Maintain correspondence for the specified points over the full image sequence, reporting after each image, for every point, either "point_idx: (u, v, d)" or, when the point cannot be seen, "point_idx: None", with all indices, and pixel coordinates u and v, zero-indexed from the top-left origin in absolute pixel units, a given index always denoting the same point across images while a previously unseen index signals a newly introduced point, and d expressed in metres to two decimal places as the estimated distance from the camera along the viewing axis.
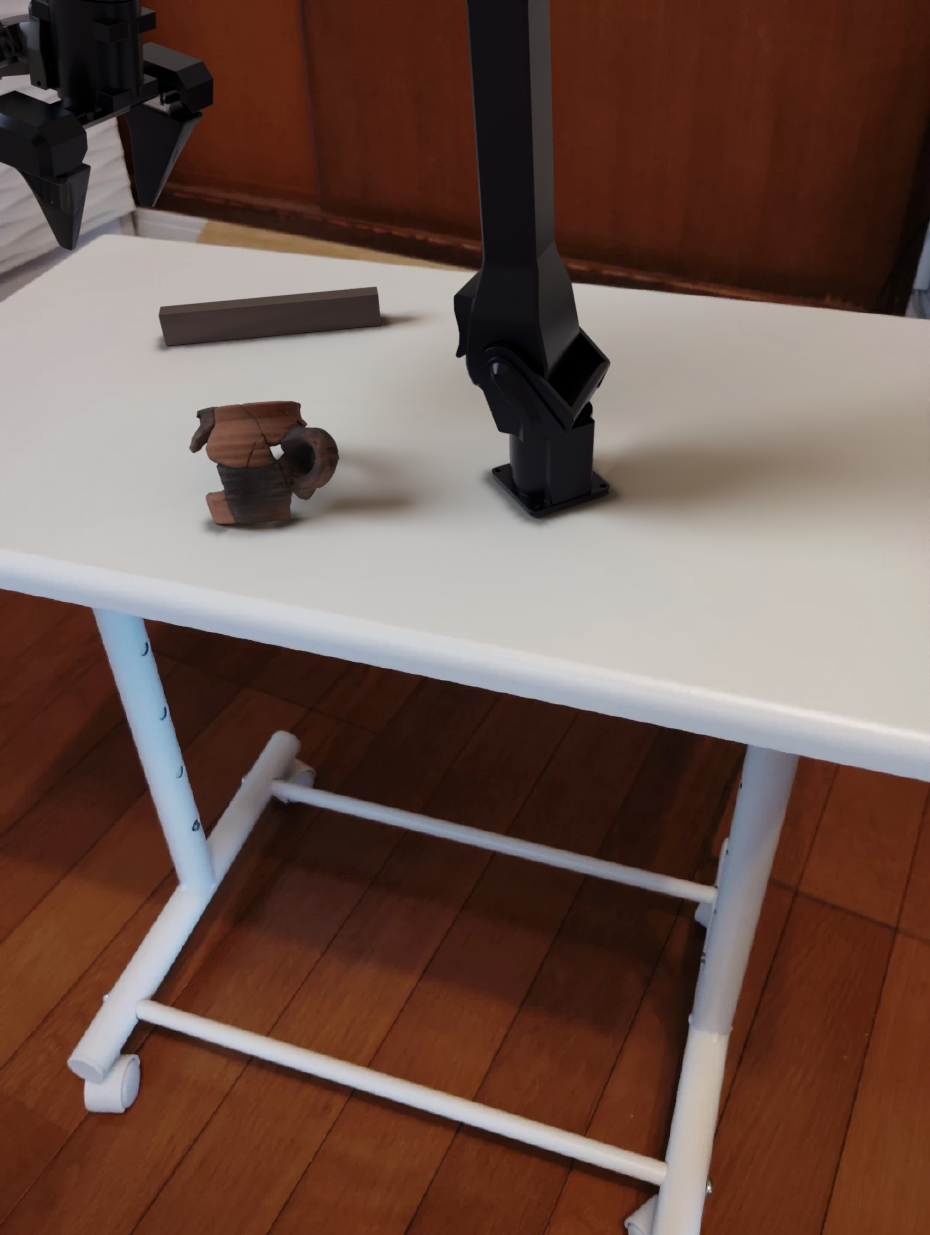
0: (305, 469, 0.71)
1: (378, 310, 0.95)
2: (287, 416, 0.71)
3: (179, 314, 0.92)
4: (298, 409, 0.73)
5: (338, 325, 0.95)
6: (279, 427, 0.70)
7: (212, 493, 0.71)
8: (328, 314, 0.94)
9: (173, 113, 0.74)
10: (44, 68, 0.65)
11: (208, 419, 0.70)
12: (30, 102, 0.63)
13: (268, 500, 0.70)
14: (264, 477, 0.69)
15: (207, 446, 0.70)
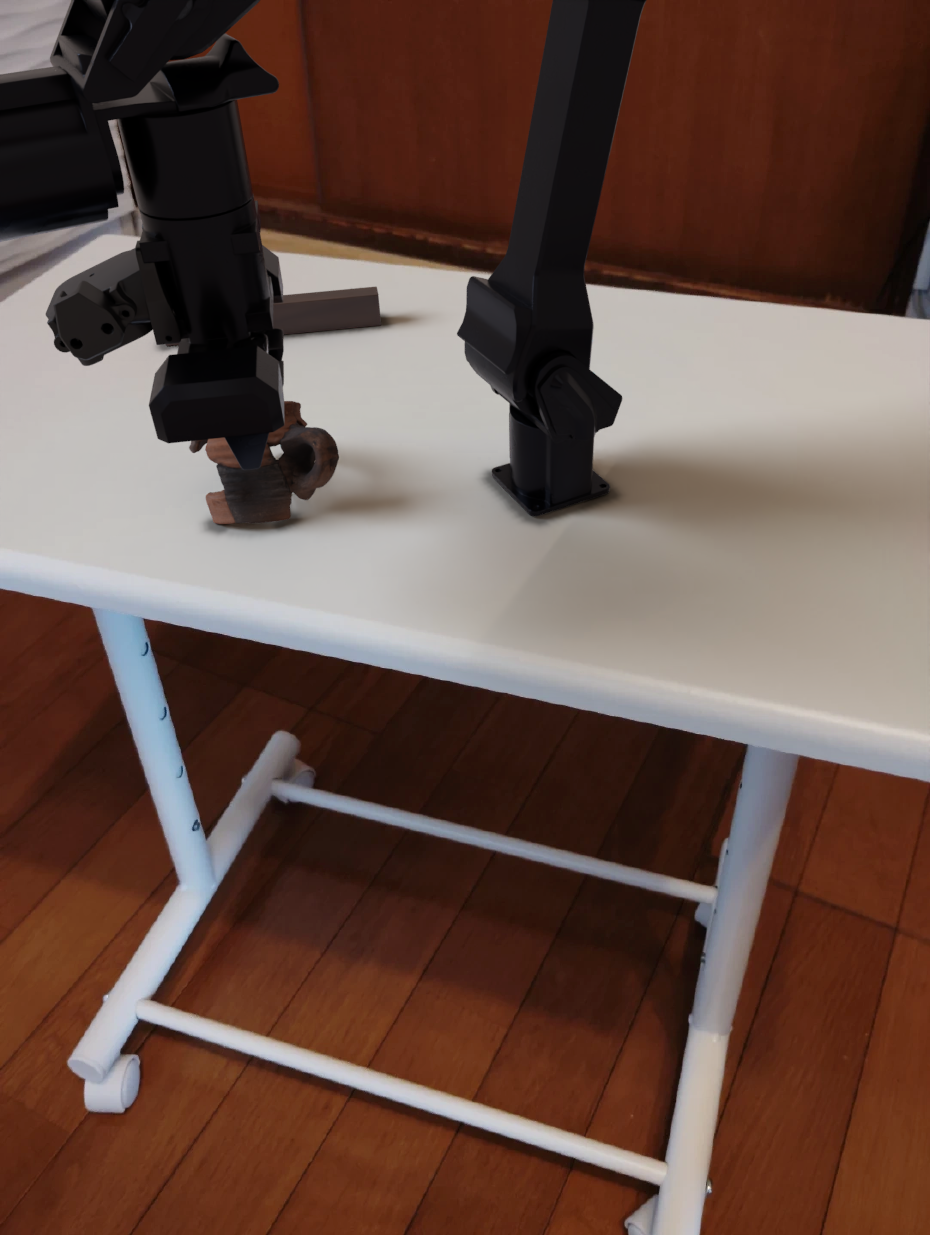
0: (305, 469, 0.71)
1: (378, 310, 0.95)
2: (287, 416, 0.71)
3: None
4: (298, 409, 0.73)
5: (338, 325, 0.95)
6: None
7: (212, 493, 0.71)
8: (328, 314, 0.94)
9: None
10: (174, 317, 0.52)
11: None
12: (204, 357, 0.50)
13: (268, 500, 0.70)
14: (264, 477, 0.69)
15: (207, 446, 0.70)
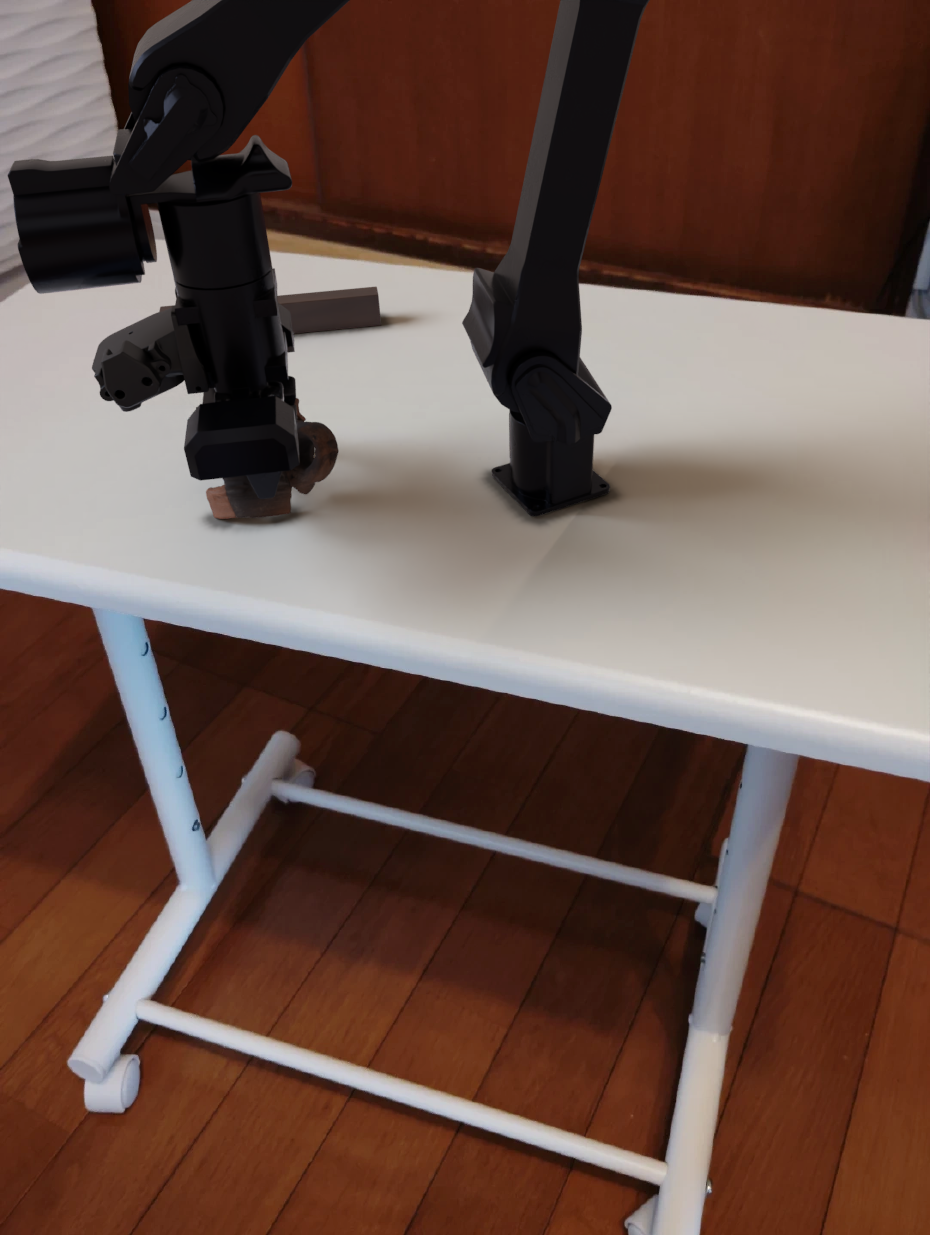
0: (305, 463, 0.71)
1: (378, 310, 0.95)
2: None
3: None
4: (296, 404, 0.73)
5: (338, 325, 0.95)
6: None
7: (212, 488, 0.71)
8: (328, 314, 0.94)
9: None
10: (203, 370, 0.60)
11: None
12: (230, 406, 0.58)
13: None
14: None
15: None
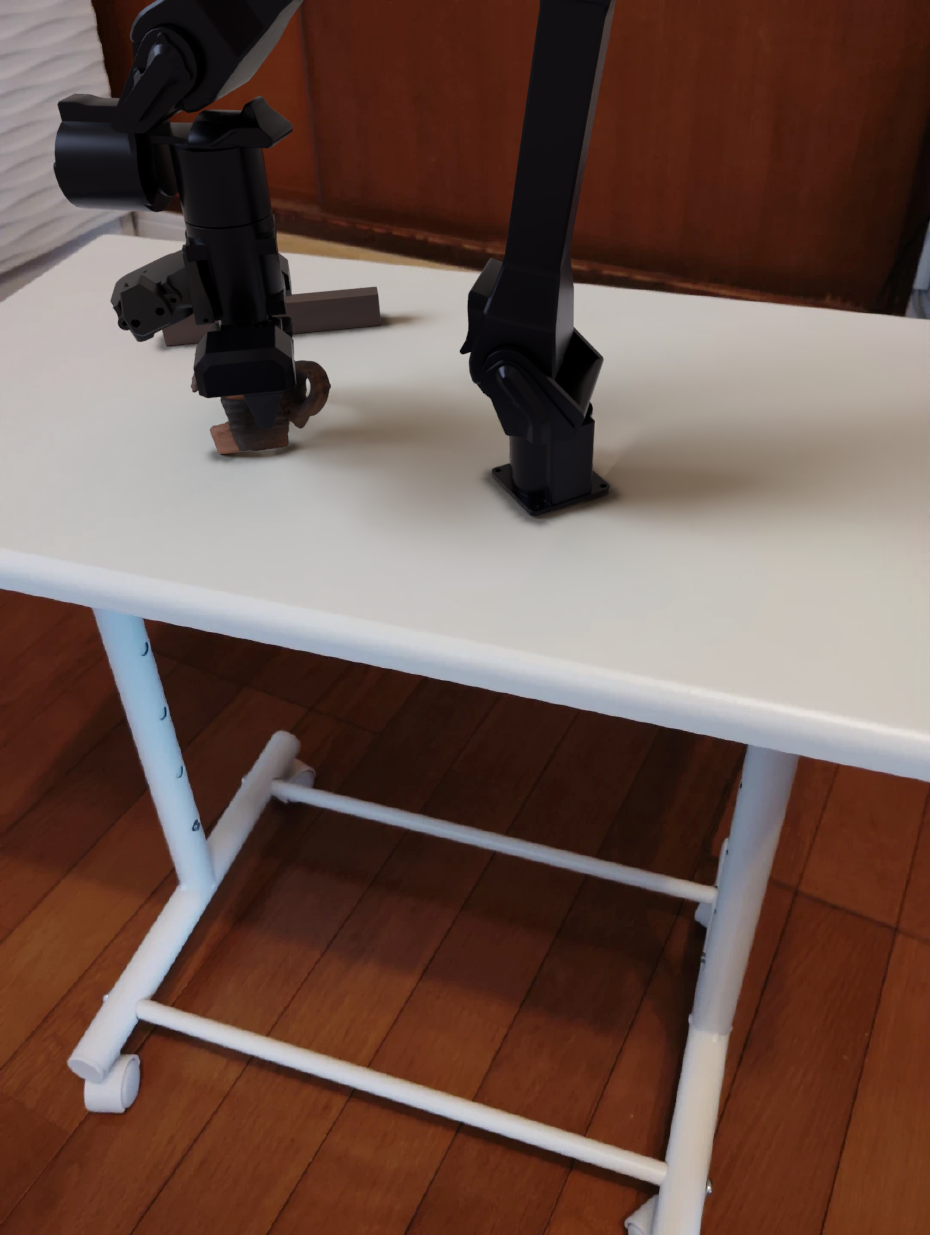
0: (299, 399, 0.79)
1: (378, 310, 0.95)
2: None
3: None
4: None
5: (338, 325, 0.95)
6: None
7: (216, 426, 0.78)
8: (328, 314, 0.94)
9: None
10: (210, 303, 0.67)
11: None
12: (234, 333, 0.65)
13: (269, 428, 0.78)
14: None
15: None
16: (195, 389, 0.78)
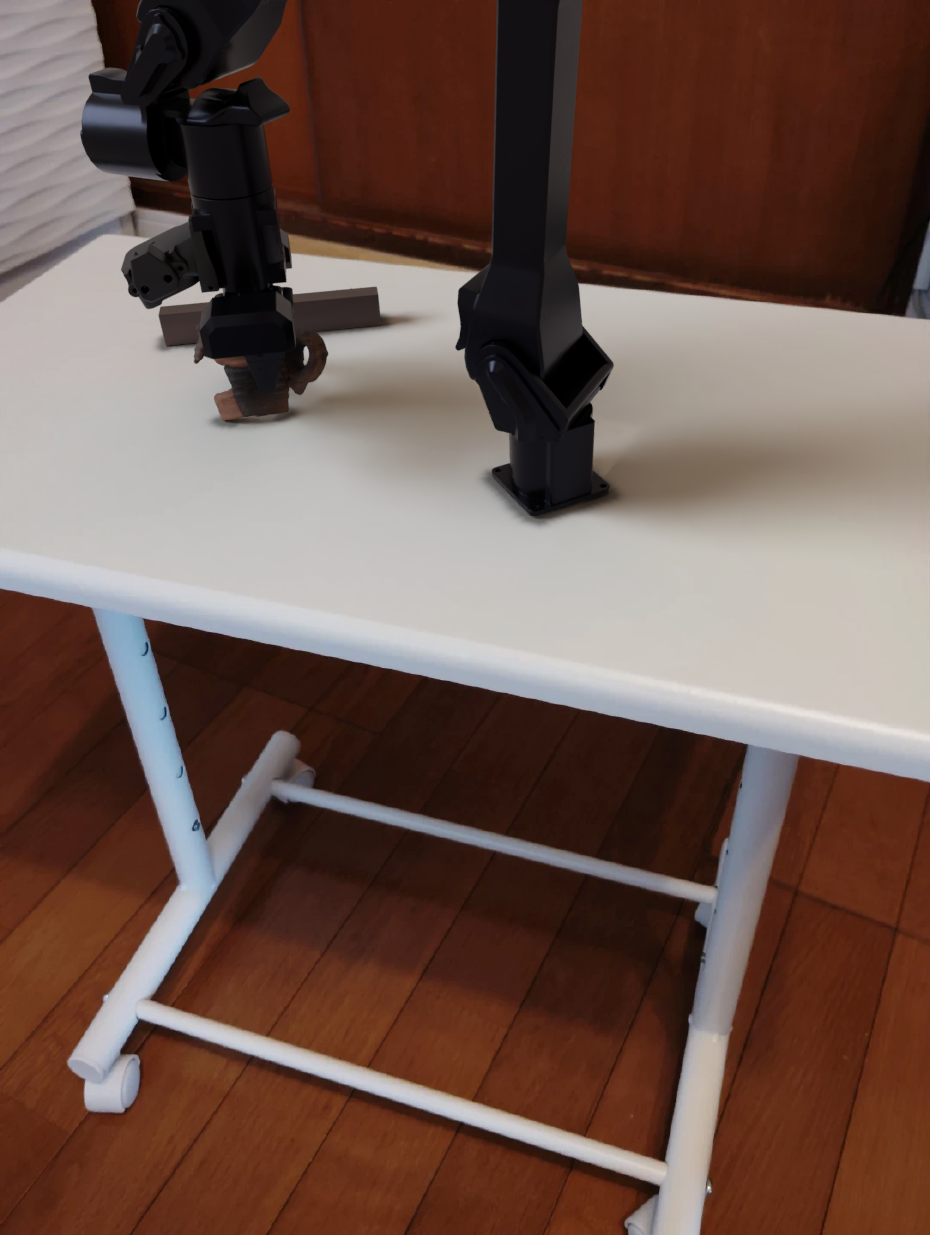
0: (298, 367, 0.83)
1: (378, 310, 0.95)
2: None
3: (179, 314, 0.92)
4: None
5: (338, 325, 0.95)
6: None
7: (220, 393, 0.82)
8: (328, 314, 0.94)
9: None
10: (215, 272, 0.71)
11: None
12: (238, 299, 0.69)
13: (270, 395, 0.82)
14: None
15: None
16: (198, 359, 0.82)
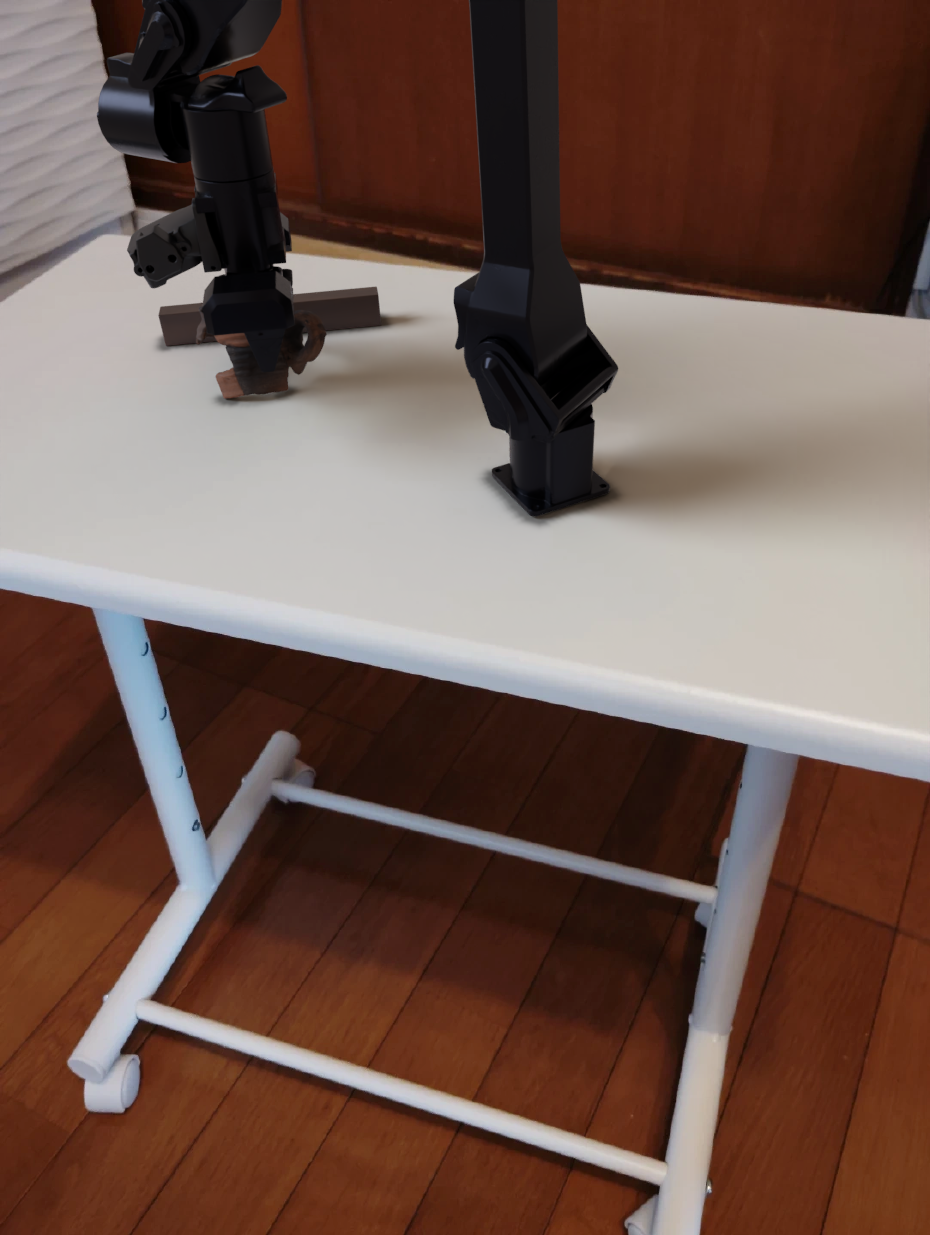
0: (297, 347, 0.86)
1: (378, 310, 0.95)
2: None
3: (179, 314, 0.92)
4: None
5: (338, 325, 0.95)
6: None
7: (221, 372, 0.85)
8: (328, 314, 0.94)
9: None
10: (217, 252, 0.74)
11: None
12: (239, 278, 0.72)
13: (271, 373, 0.85)
14: None
15: None
16: (201, 339, 0.85)
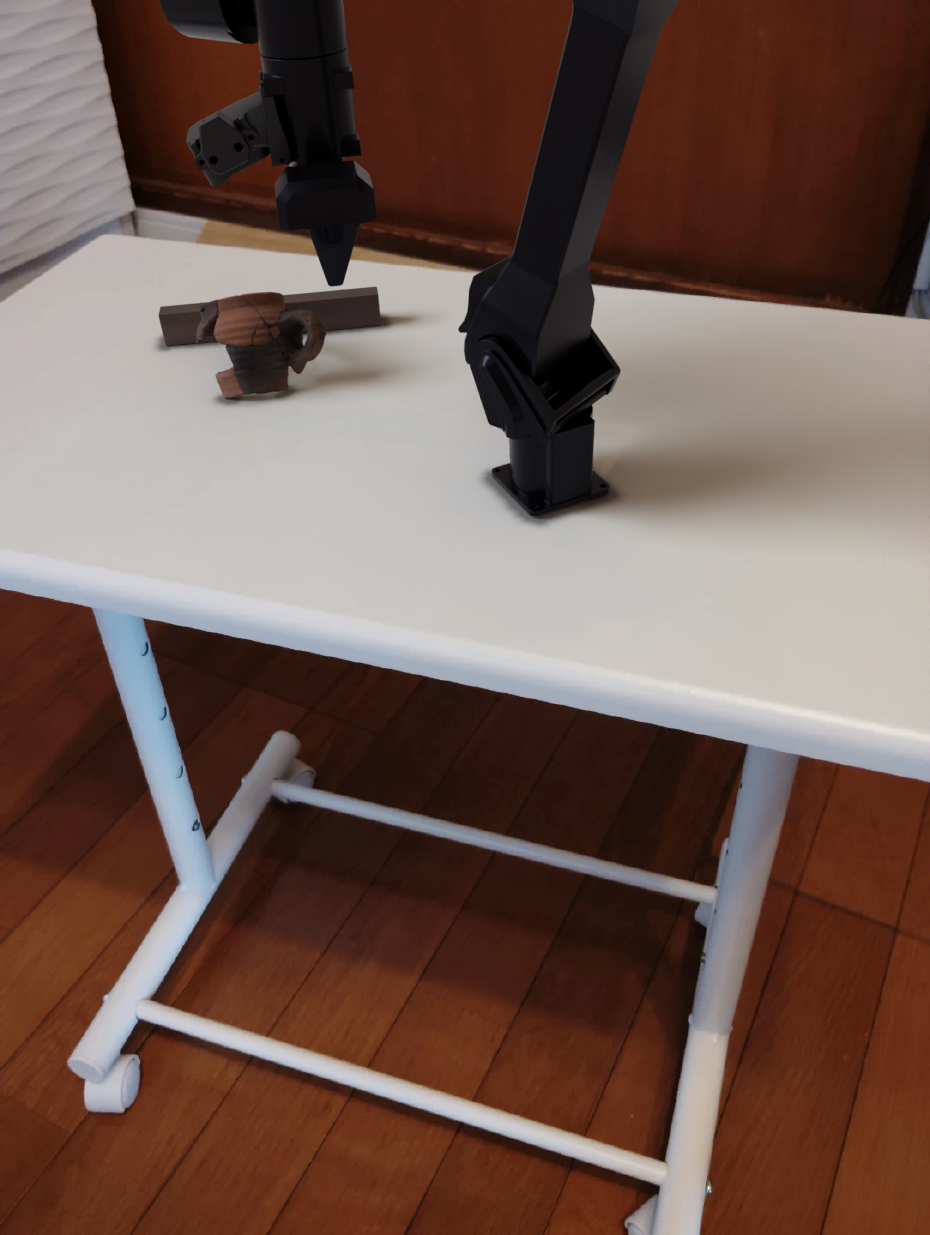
0: (297, 346, 0.86)
1: (378, 310, 0.95)
2: (277, 305, 0.86)
3: (179, 314, 0.92)
4: (283, 300, 0.87)
5: (338, 325, 0.95)
6: (273, 312, 0.85)
7: (221, 372, 0.85)
8: (328, 314, 0.94)
9: None
10: (286, 142, 0.67)
11: (212, 310, 0.84)
12: (314, 167, 0.65)
13: (270, 373, 0.85)
14: (266, 353, 0.84)
15: (215, 331, 0.84)
16: (201, 339, 0.85)
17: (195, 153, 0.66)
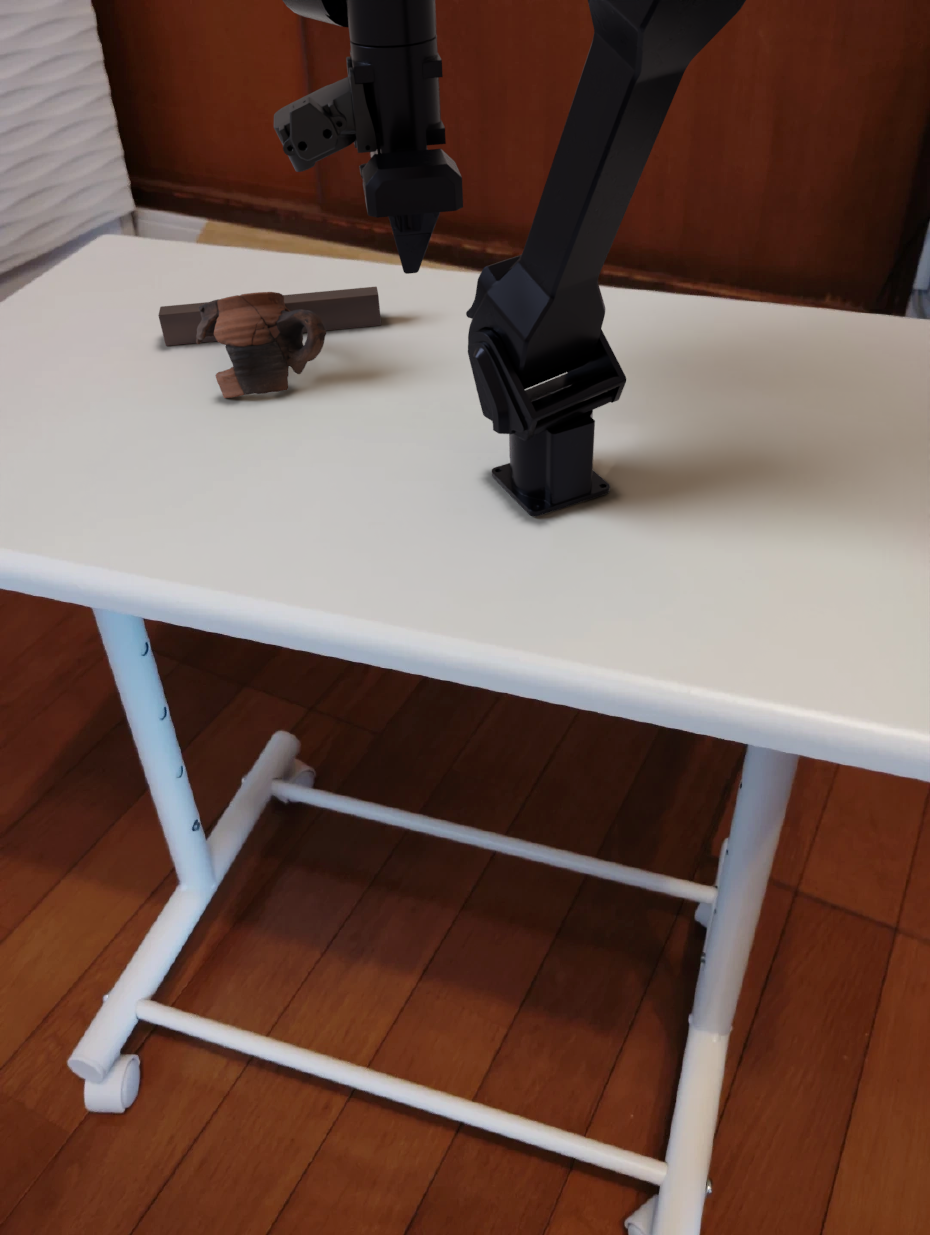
0: (297, 346, 0.86)
1: (378, 310, 0.95)
2: (277, 305, 0.86)
3: (179, 314, 0.92)
4: (283, 300, 0.87)
5: (338, 325, 0.95)
6: (273, 312, 0.85)
7: (221, 372, 0.85)
8: (328, 314, 0.94)
9: None
10: (373, 129, 0.67)
11: (212, 310, 0.84)
12: (402, 155, 0.65)
13: (270, 373, 0.85)
14: (266, 353, 0.84)
15: (215, 331, 0.84)
16: (201, 339, 0.85)
17: (283, 139, 0.67)
